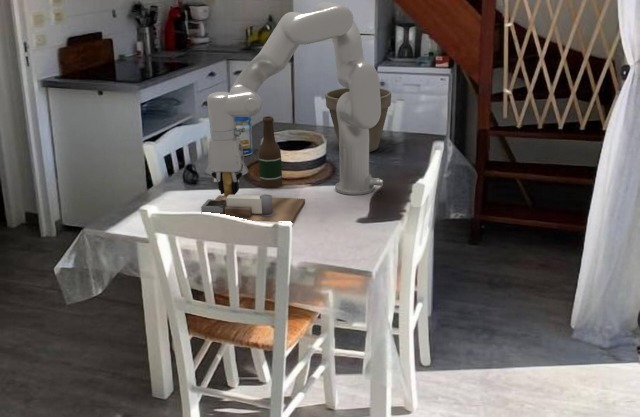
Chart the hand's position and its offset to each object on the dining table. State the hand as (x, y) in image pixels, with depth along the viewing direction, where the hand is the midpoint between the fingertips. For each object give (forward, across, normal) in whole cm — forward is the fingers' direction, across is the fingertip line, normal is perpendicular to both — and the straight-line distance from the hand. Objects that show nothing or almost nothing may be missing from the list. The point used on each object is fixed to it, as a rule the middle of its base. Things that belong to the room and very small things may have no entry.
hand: (229, 192), depth 226 cm
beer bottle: (+6, -8, -19) cm, 21 cm away
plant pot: (+7, -30, -70) cm, 76 cm away
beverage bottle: (+6, +13, -58) cm, 59 cm away
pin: (+1, 0, 0) cm, 1 cm away
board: (+5, -8, +3) cm, 10 cm away
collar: (+3, +2, +7) cm, 8 cm away
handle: (+3, -8, +7) cm, 12 cm away
